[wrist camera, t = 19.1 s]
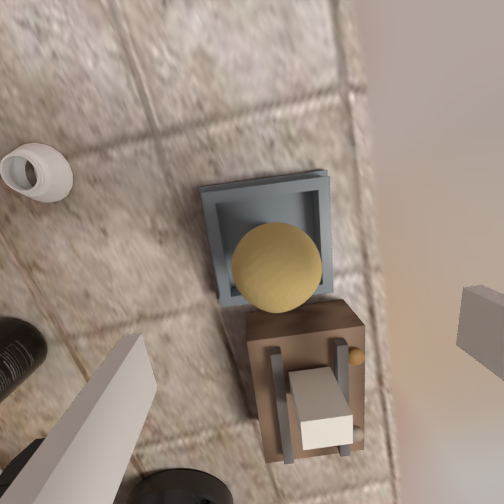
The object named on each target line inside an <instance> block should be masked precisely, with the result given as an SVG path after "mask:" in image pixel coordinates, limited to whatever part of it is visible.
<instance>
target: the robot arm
mask: <svg viewBox="0 0 504 504" xmlns="http://www.w3.org/2000/svg"><path fill="white" fill-rule="evenodd" d="M456 345H457V346H458V347H460V348H461V349H462V350H464V351H465V352H466V353H468V354H469V355H470V356H472V357H473V358H474V359H476V360H477V361H478V362H480V363H481V364H482V365H484V366H485V367H486V368H487V369H489V370H490V371H491V372H493V373H494V374H495V375H497V376H498V377H499V378H501V379H502V380H503V381H504V294H502V293H499V292H497V291H495V290H492V289H490V288H488V287H485V286H483V285H477V286H470V287H463V294H462V301H461V309H460V317H459V325H458V333H457V341H456ZM156 391H157V385H156V381H155V378H154V375H153V371H152V368H151V364H150V361H149V358H148V354H147V351H146V348H145V344H144V341H143V337H142V334H141V333H140V334H133V335H126V336H122V337H121V338H120V340H119V341H118V342H117V344H116V345H115V346H114V348H113V349H112V350H111V352H110V353H109V354H108V356H107V357H106V358H105V360H104V361H103V362H102V364H101V365H100V366H99V368H98V369H97V370H96V372H95V373H94V374H93V376H92V377H91V378H90V380H89V381H88V382H87V384H86V385H85V386H84V388H83V389H82V390H81V392H80V393H79V394H78V396H77V397H76V398H75V400H74V401H73V402H72V404H71V405H70V406H69V408H68V409H67V410H66V412H65V413H64V414H63V416H62V417H61V418H60V420H59V421H58V422H57V424H56V425H55V426H54V428H53V429H52V430H51V432H50V433H49V434H48V436H47V437H46V438H41V439H36V440H34V441H33V442H32V443H31V444H30V445H29V446H28V447H27V448H25V449H24V450H23V451H22V452H21V453H20V454H19V455H18V456H17V457H15V458H14V459H13V460H12V461H11V462H10V464H9V465H8V466H7V467H6V468H5V470H4V471H3V472H2V473H1V475H0V504H113V501H114V499H115V496H116V494H117V491H118V488H119V486H120V483H121V481H122V478H123V476H124V473H125V471H126V468H127V465H128V463H129V460H130V458H131V455H132V453H133V450H134V447H135V445H136V442H137V440H138V437H139V435H140V432H141V430H142V427H143V424H144V422H145V419H146V417H147V414H148V412H149V409H150V406H151V404H152V401H153V399H154V396H155V394H156ZM127 504H233V498H232V495H231V493H230V491H229V490H228V488H227V487H226V486H225V485H224V484H223V483H222V482H220V481H219V480H218V479H216V478H214V477H212V476H210V475H207V474H205V473H201V472H197V471H191V470H170V471H165V472H160V473H157V474H154V475H152V476H150V477H148V478H146V479H144V480H143V481H141V482H140V483H139V484H138V485H137V486H136V487H135V488H134V489H133V491H132V492H131V494H130V497H129V500H128V503H127Z"/></svg>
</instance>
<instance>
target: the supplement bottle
mask: <svg viewBox="0 0 504 504" xmlns="http://www.w3.org/2000/svg"><path fill="white" fill-rule="evenodd" d="M46 355H47V344H46V341H45V339H44V337H43V336H42V335H41V333H40V332H39V331H38V330H37V329H35V328H34V327H33V326H31V325H29V324H27V323H25V322H22V321H18V320H12V319H3V320H0V403H1V402H2V401H4V400H5V399H6V398H7V397H8V396H9V395H10V394H11V393H12V392H13V391H14V390H15V389H16V388H17V387H18V386H19V385H21V384H22V383H23V382H24V381H25V380H26V379H27V378H28V377H29V376H30V375H31V374H32V373H33V372H34V371H35V370H36V369H37V368H38V367H40V366H41V364H42V363H43V362H44V360H45V358H46Z"/></svg>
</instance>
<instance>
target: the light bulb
mask: <svg viewBox="0 0 504 504" xmlns="http://www.w3.org/2000/svg"><path fill="white" fill-rule="evenodd" d="M231 269H232V277H233V280H234V283H235V285H236V287H237V289H238V290H239V292H240V293H241V294H242V296H243V297H244V298H245V299H246V300H247V301H248V302H249V303H251V304H252V305H254V306H256V307H257V308H259V309H261V310H264V311H267V312H271V313H282V312H286V311H290V310H292V309H294V308H296V307H298V306H300V305H301V304H303V303H304V302H305V301H306V300H307V299H309V298H310V297H311V295H312V294H313V293H314V292H315V290H316V289H317V287H318V285H319V283H320V280H321V275H322V262H321V257H320V254H319V251H318V249H317V247H316V245H315V244H314V242H313V241H312V240H311V238H310V237H309V236H308V235H307V234H306V233H305V232H303V231H302V230H301V229H299V228H297V227H295V226H293V225H290V224H287V223H281V222H273V223H266V224H263V225H260V226H258V227H256V228H254V229H252V230H251V231H249V232H248V233H247V234H246V235H245V236H244V237H243V238H242V239H241V240H240V242H239V243H238V245H237V247H236V249H235V251H234V254H233V258H232V265H231Z"/></svg>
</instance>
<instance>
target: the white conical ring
mask: <svg viewBox="0 0 504 504" xmlns="http://www.w3.org/2000/svg"><path fill="white" fill-rule="evenodd" d="M27 160H28V161H29V162H30V163H31V164H32V165H33V166H34V174H35V176H36V178H37V183H36V185H35V186H34V187H33V186H32V185H31V184H30V182H29V181H28V179H27V176H26V174H25V164H26V162H27ZM0 174H1V177H2V179H3V180H4V182H5V183H6V184H7V185H8V186H9V187H10V188H12V189H13V190H15V191H17V192H20V193H22V194H23V195H25V196H27V197H29V198H31V199H33V200H36V201H40V202H45V203H49V202H55V201H60V200H62V199H63V198H65V197H66V196H67V195H68V194H69V192H70V190H71V188H72V186H73V173H72V171H71V168H70V165H69V163H68V162H67V160H66V159H65V158H64V157H63V155H62V154H61V153H60V152H58V151H57V150H55V149H54V148H52V147H51V146H48V145H44V144H40V143H29V144H23V145H21V146H20V147H18V148H17V149H15V150H14V151H12V152H11V153H10V154H8V155H6V156H5V157H4V158H3V159H2V160H1V163H0Z"/></svg>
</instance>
